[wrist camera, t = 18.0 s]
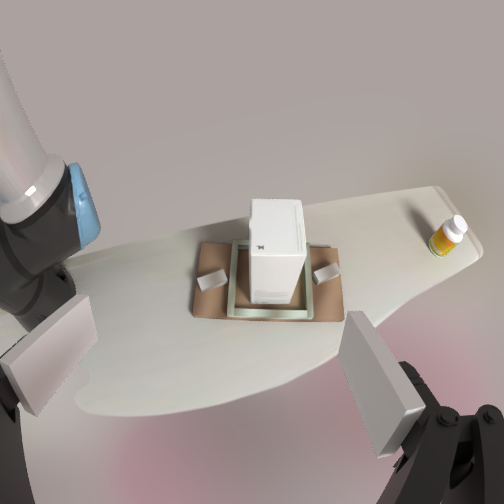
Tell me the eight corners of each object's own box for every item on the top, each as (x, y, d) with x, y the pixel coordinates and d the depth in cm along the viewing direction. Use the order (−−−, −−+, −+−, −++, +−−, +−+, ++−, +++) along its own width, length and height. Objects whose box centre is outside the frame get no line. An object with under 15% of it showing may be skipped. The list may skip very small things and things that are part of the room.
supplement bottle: (440, 262, 48) (466, 239, 40) (424, 246, 50) (447, 220, 42) (448, 249, 50) (472, 225, 42) (433, 233, 52) (455, 207, 44)
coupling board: (194, 317, 43) (190, 311, 40) (202, 246, 49) (200, 237, 46) (341, 321, 43) (348, 315, 40) (335, 252, 49) (340, 243, 46)
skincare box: (289, 305, 42) (310, 258, 29) (247, 304, 42) (247, 257, 29) (287, 258, 47) (304, 198, 33) (248, 257, 46) (249, 195, 33)
